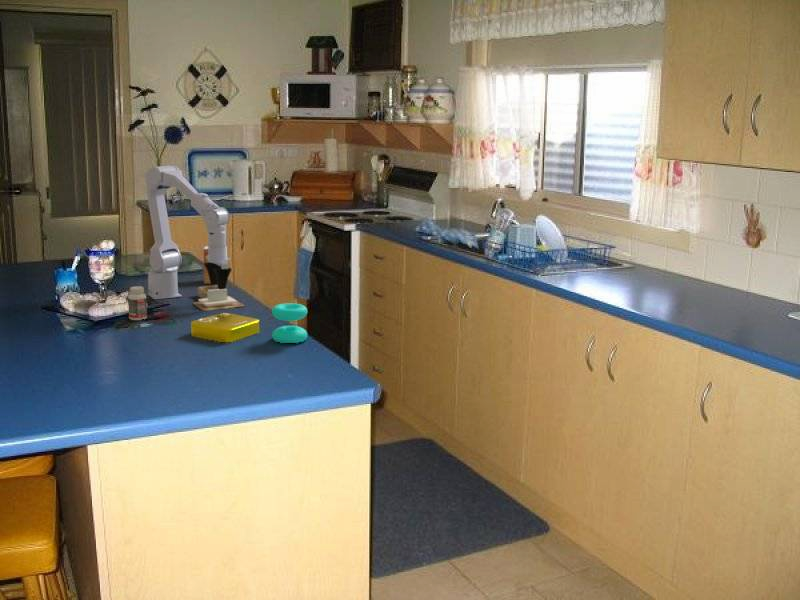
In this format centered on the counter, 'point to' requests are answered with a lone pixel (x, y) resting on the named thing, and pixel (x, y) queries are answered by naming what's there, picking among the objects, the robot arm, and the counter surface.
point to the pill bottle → (137, 303)
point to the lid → (217, 298)
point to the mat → (205, 308)
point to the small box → (206, 276)
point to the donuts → (289, 314)
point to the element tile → (224, 327)
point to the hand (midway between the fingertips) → (218, 286)
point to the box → (205, 291)
